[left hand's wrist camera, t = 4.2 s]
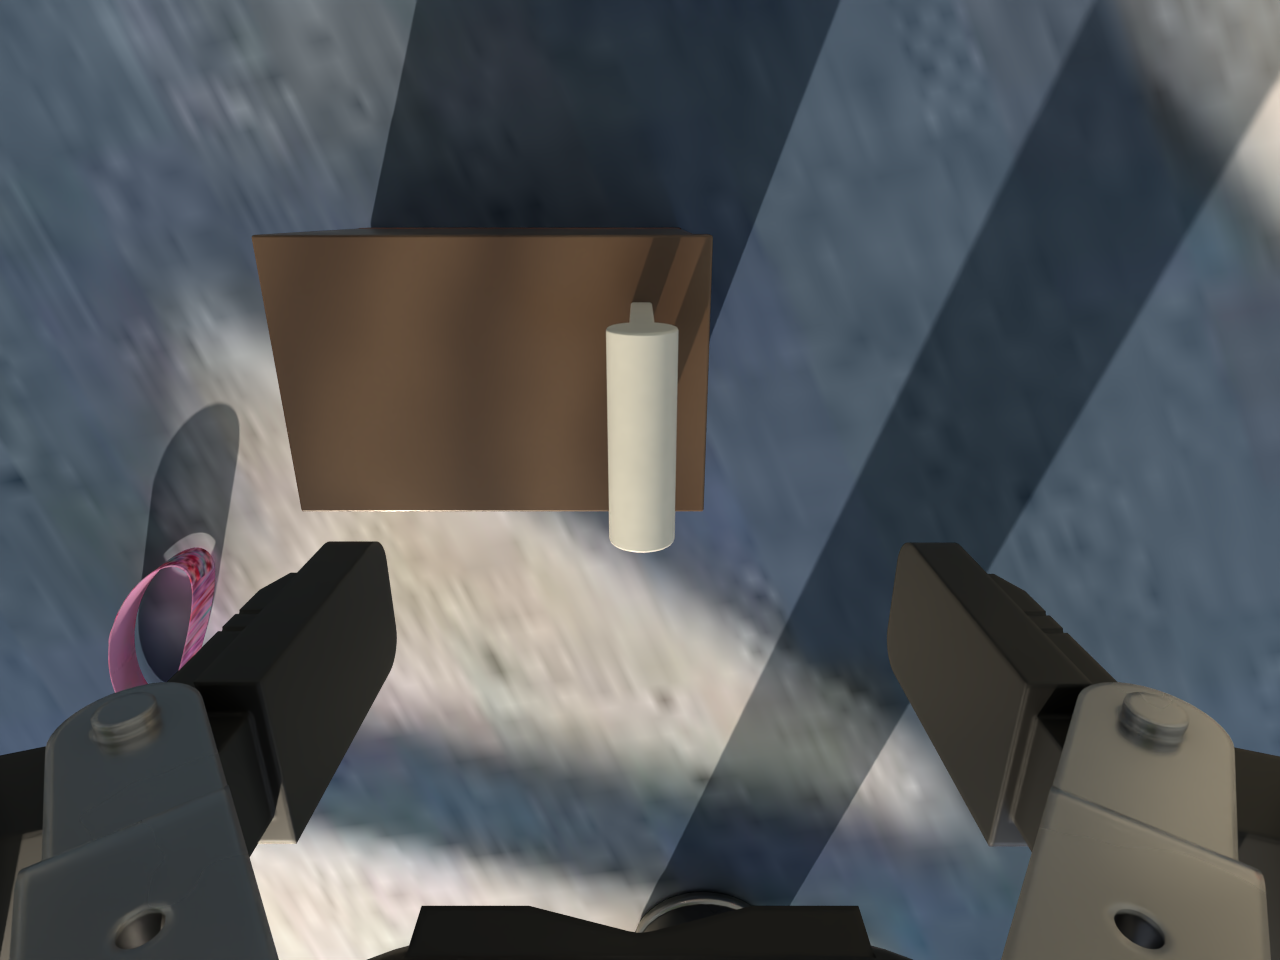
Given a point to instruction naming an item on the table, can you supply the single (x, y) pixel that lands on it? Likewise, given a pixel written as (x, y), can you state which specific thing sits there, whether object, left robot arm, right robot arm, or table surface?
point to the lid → (495, 372)
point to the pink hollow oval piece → (122, 633)
